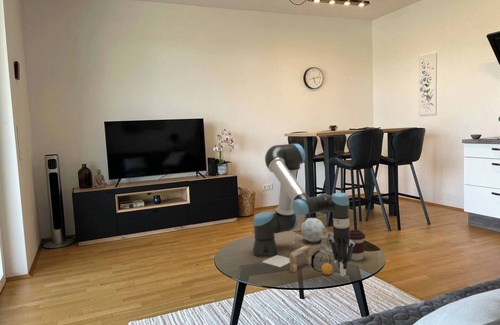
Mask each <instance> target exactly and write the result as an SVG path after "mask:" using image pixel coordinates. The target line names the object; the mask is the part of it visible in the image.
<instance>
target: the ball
mask: <svg viewBox="0 0 500 325" xmlns="http://www.w3.org/2000/svg"><path fill="white" fill-rule="evenodd" d="M321 272H322V273H323V274H324V275H329V276H330V275H331V274H332V273H333V272H334V267H333V265H332V263H329V262H325V263H323V264H322V266H321Z"/></svg>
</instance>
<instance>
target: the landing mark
mask: <svg viewBox="0 0 500 325" xmlns="http://www.w3.org/2000/svg"><path fill="white" fill-rule="evenodd" d="M262 263H263V264H267V265H270V266H274V267H278V268H282V267H285V266H286V265H288V264H290V261H289V257H288V256H287V257H286V256H282V255H279V254H276V255H274V256H271V257H270V258H269V257H268V258H267V259H264V260H263V261H262Z"/></svg>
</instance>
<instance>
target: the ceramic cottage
mask: <svg viewBox="0 0 500 325" xmlns="http://www.w3.org/2000/svg"><path fill="white" fill-rule="evenodd" d="M333 236H334V234H333V232H329V231H328V230H327V229H326V228H323V231H322V234H321V240H320V241H321V242H320V247H319V248H320V249H319V253H320V254H322V255H326V256H330V257H333V258H334V255H333V251H332V247H331V244H330V242H329V239H331V238H333ZM335 243H336V242H335ZM336 246H337V244H336Z"/></svg>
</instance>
